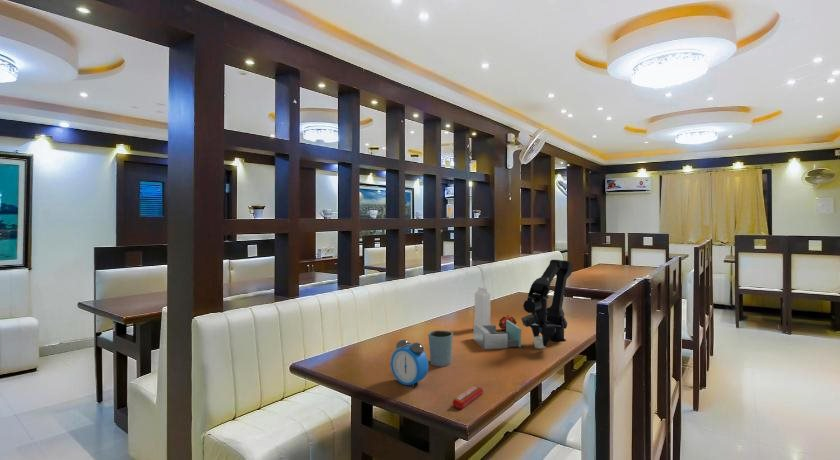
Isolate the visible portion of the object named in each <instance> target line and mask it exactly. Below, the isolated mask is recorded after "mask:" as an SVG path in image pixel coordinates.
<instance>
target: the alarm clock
mask: <svg viewBox="0 0 840 460" xmlns="http://www.w3.org/2000/svg"><path fill="white" fill-rule="evenodd" d="M395 348H396V349H395V350H394V351H393V353H392V355H391V357H390V368H391V371H392V374H393V376H394V378H395V379H396V380H397V381H398V382H397V383H400V384H402V385H405V386H412V388H414V385H415V384H416V383H418V382H420V381H422V380H424V379H425V378H426V376H427V374H428V372H429V360H428V358H427V355H426V353H425V351H424V350H425V349H424V345H423V344H422V343H419V342H417V341H416V342H412V343H411V342H409V341H408V340H407V339H399V341H397V342H396V344H395Z"/></svg>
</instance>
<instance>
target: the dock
mask: <svg viewBox="0 0 840 460" xmlns="http://www.w3.org/2000/svg"><path fill="white" fill-rule="evenodd" d="M472 327H473V331H472V334H473V340H474V341H475V342H476V343H477V344H478V345H479V346H480V348H482V350H495V349H496V350H498V349H508V348H509V347H508V334H491V333H490V332H497V325H496V324H490V325H481V324H475V323H474V325H473V326H472Z"/></svg>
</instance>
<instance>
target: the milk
mask: <svg viewBox="0 0 840 460" xmlns="http://www.w3.org/2000/svg"><path fill="white" fill-rule="evenodd" d="M487 290H488V289H487V288H484V287H478V289H477V291H476V292H475V293H474V325H475V324H481V325H491V293H490V292H488V291H487Z"/></svg>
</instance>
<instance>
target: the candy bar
mask: <svg viewBox="0 0 840 460" xmlns="http://www.w3.org/2000/svg"><path fill="white" fill-rule="evenodd" d="M483 392H484V390H483V388H482V387H481V386H478V385H477V384H475V385H472V386H471V387H469V388H468V389H466V390H465V391H464V392H462V393H460V394H459V395H457V396H456V397H454V398H453V401H452V405H453V406H454V407H456V408H457V409H460V410H461V409H463V408H465V407H467V406H468V405H469V404H470V403H472V402H474V401H475V400H477V398H479V397H480V396H482V395H483Z"/></svg>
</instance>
